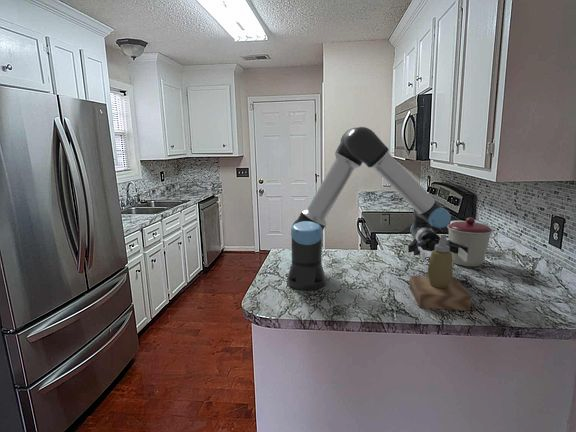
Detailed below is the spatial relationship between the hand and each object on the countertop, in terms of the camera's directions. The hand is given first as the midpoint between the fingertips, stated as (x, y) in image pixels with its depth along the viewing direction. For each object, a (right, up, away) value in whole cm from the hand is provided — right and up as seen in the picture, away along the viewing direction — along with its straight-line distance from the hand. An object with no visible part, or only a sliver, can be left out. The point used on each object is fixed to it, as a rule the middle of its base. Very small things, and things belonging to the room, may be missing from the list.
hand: (444, 257), depth 117 cm
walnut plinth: (+1, -15, +7) cm, 17 cm away
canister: (+28, -8, +42) cm, 51 cm away
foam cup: (+36, -3, +65) cm, 75 cm away
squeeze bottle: (+1, -11, +6) cm, 12 cm away
